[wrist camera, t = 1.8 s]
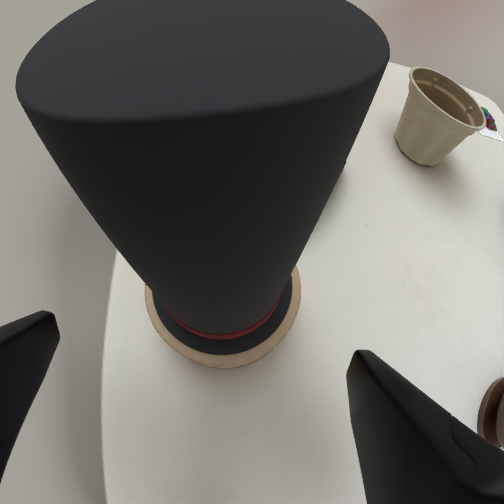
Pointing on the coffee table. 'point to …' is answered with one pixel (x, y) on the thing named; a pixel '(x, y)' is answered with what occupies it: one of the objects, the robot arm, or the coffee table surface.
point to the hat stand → (493, 414)
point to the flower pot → (436, 116)
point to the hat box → (232, 359)
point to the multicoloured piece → (490, 127)
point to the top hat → (206, 142)
